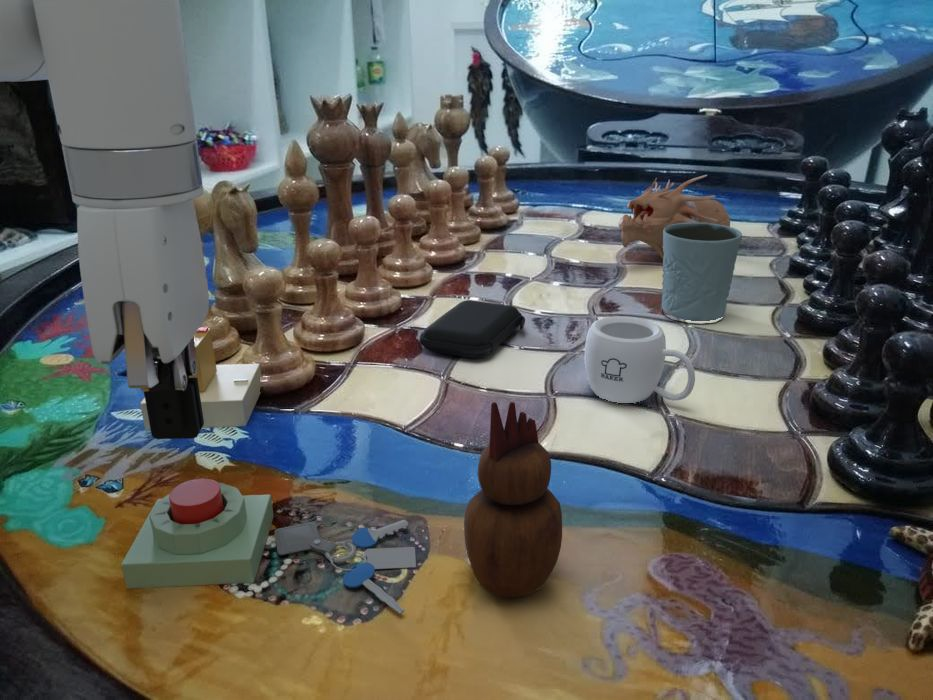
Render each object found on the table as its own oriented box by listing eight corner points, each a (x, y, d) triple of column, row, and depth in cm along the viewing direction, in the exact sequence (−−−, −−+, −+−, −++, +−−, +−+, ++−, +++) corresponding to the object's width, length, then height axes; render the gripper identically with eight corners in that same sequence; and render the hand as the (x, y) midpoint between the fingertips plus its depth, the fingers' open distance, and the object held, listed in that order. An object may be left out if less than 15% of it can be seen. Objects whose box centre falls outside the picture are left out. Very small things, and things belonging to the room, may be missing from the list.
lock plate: (144, 430, 73) (139, 402, 72) (172, 390, 82) (167, 364, 80) (246, 426, 74) (242, 398, 73) (263, 387, 82) (259, 361, 81)
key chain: (257, 547, 56) (256, 538, 56) (331, 495, 63) (330, 487, 62) (400, 620, 49) (399, 611, 49) (468, 554, 55) (467, 545, 55)
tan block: (204, 392, 74) (196, 344, 72) (188, 392, 74) (180, 345, 72) (217, 371, 79) (210, 326, 77) (202, 371, 79) (194, 326, 77)
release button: (166, 527, 53) (162, 507, 52) (180, 498, 56) (177, 479, 56) (216, 525, 53) (213, 505, 52) (228, 496, 56) (225, 477, 56)
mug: (568, 398, 79) (572, 331, 76) (601, 371, 86) (605, 308, 83) (677, 428, 73) (686, 356, 70) (703, 396, 80) (712, 329, 77)
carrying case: (493, 367, 87) (533, 326, 99) (493, 343, 86) (534, 305, 98) (413, 353, 91) (462, 315, 103) (413, 330, 90) (462, 294, 102)
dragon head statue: (737, 175, 130) (696, 167, 110) (738, 260, 132) (698, 268, 112) (664, 183, 138) (613, 177, 117) (666, 263, 140) (616, 271, 119)
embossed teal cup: (733, 308, 106) (745, 226, 101) (724, 331, 97) (737, 243, 92) (662, 298, 109) (671, 219, 105) (648, 320, 101) (656, 235, 96)
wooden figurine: (478, 618, 49) (479, 423, 43) (455, 564, 54) (453, 382, 49) (571, 598, 51) (584, 407, 45) (540, 547, 56) (548, 370, 50)
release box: (126, 589, 52) (115, 543, 51) (161, 521, 60) (153, 479, 58) (254, 583, 53) (247, 538, 51) (273, 516, 60) (268, 475, 58)
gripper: (118, 153, 52) (158, 387, 59) (11, 197, 38) (80, 495, 45) (227, 154, 52) (253, 386, 59) (160, 197, 38) (204, 492, 46)
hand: (178, 432), depth 52 cm, fingers closed
